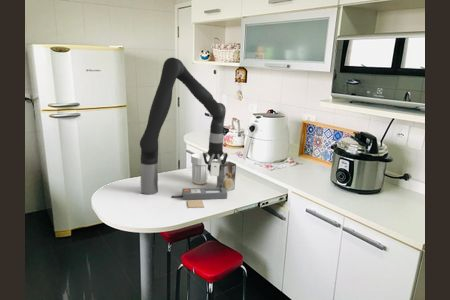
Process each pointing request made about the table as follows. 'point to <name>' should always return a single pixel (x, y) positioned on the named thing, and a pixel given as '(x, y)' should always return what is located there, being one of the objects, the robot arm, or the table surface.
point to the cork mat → (195, 204)
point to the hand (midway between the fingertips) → (214, 170)
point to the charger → (214, 168)
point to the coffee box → (227, 176)
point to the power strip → (203, 193)
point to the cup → (199, 169)
